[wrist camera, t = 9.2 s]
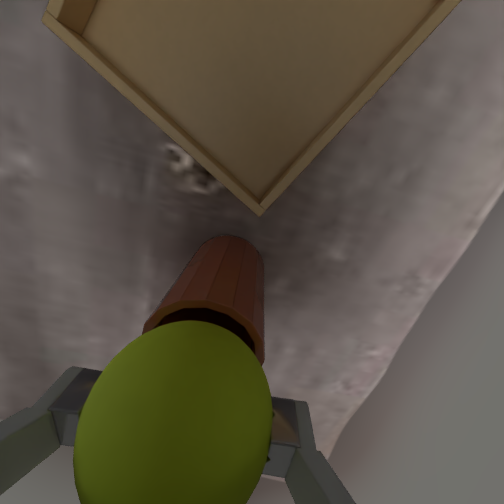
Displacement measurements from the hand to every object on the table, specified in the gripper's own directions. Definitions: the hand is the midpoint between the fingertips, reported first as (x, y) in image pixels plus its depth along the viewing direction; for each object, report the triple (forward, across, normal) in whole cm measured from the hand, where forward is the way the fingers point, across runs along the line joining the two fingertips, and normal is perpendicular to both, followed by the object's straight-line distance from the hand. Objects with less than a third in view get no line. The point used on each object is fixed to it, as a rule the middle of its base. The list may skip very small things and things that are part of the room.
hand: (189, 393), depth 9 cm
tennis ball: (-1, 0, 0) cm, 1 cm away
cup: (+11, 0, 0) cm, 11 cm away
